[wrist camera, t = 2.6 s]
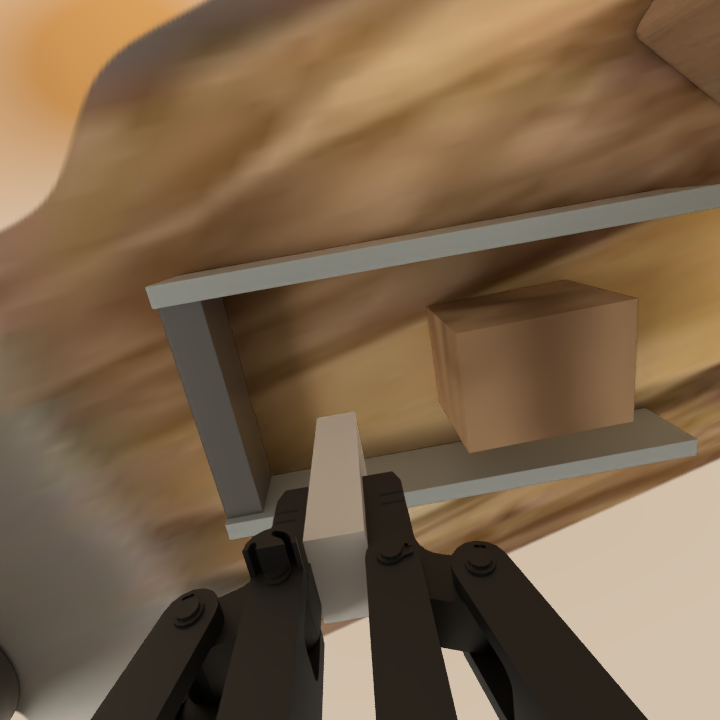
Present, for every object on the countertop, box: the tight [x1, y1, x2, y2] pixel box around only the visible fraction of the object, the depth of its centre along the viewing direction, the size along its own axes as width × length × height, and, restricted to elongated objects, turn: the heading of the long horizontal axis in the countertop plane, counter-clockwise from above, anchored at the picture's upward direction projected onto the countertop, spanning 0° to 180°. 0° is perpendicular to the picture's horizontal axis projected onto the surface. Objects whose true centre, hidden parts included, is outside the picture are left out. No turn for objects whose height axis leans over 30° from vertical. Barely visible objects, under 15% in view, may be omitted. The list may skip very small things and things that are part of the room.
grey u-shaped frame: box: [145, 184, 720, 540], centre depth 23 cm, size 26×14×4 cm, turn 100°
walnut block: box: [427, 280, 638, 453], centre depth 22 cm, size 8×6×6 cm
